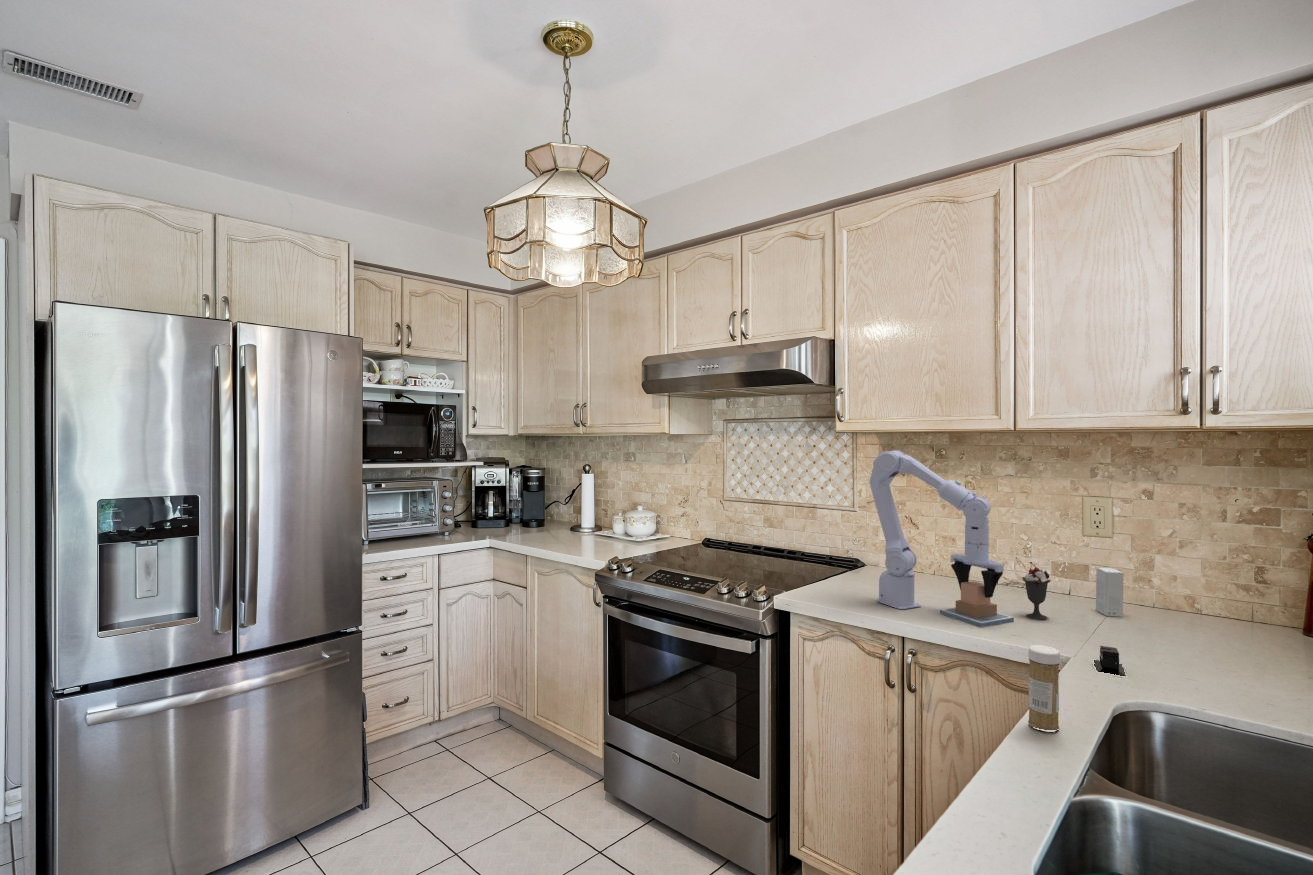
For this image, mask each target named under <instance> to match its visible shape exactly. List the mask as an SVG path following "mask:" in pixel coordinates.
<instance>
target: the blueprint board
mask: <svg viewBox="0 0 1313 875" xmlns="http://www.w3.org/2000/svg"><path fill="white" fill-rule="evenodd" d="M939 614H940V615H943V616H945V617H948V618H952V619H954V620H958V621H961V622H964V623H967V624H970V625H973V626H976V627H979V628H986V627H991V626H997V625H1002V624H1007V623H1008V624H1009V623H1013V622H1014V620H1015V618H1014V617H1012V616H1010V615H1006V614H1003V613H1000V612H998V604H996V603H993V602H990V604H987V605H981V606H975V605H972V604H968V603H965V602H962V601H961V599H957V600H955V607H949V608H942V609H939Z"/></svg>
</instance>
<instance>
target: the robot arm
mask: <svg viewBox="0 0 1313 875" xmlns="http://www.w3.org/2000/svg"><path fill="white" fill-rule="evenodd" d="M872 466H873V467H872V471H871V475H870V478H869V487H870V490H871V493H872V498H873V501H874V505H875V508H876V511H877V514H878V518H879V522H880V525H881V529H882V532H883V536H884V539H885V547H884V552H885V561H884V563H885V568H886V569H887V570H885V571H882V573H881V574H880V576H879V578H878V579H879V580H878V599H876V602H878V603H879V604H880V603H881V604H883V605H887V606H889V607H892V608H894V609H898V610H906V609H907V610H908V609H913V608H914V609H915V608H920V607H922V604H920V603H917V602H915V577H916V576H915V575H916V574H915V572H914V569H913V568H914V567H916V565H917V562H918V561H917V560H918V559H917V555H916V553H915V552H914V551H913V550H912V548H911V547H910V543H909V542H908V540H907V539H906V538H905V534H904V530H903V529H902V524H901V521H900V518H899V514H898V510H897V507H896V503H895V500H894V498H893V497H894V496H893V494H892V491H891V490H892V489H891V486H890V485H891V483H892V482H893V481H894V479H895V477H896V476H898V474H910V475H912V476H914V477H916V478H917V479H920V480H921V481H922V482H924V483H926V484H928V485H929V486H931V487H933V488H934V489H936V491H937V493H938V496H939V498H941V499H943V500H944V501H945V502H947V503H949V505H952V506H953V507H955V509H957V510H958V511H962V513H963V515H964V517H965V524H964V554H959V553H954V554H953V553H952V554H951V555H950V556H951V557H950V560H951V562H953V563H952V564H951V565H950V566H951V569H952V570H953V572H954V574H955V576H956V579H957V583H958V585H959V590H960V591H961V583H963V582H970V581H969V579H970V573H971V568H972V567H977V568H981V569H984V570H981V571H980V573H981V576H982V579H983V583H984V594H985V597H986V598H990V599H991V598H993V596H994V592H995V589H996V587H997V584H998V582H999V580H1000V579H1001V578H1002V576H1003V573H1004V571H1005V570H1004V564H1003V563H999V562H996V561H994V560H991V559H990V558H989V557H990V556H989V554H990V552H989V548H990V545H989V543H990V542H989V541H990V526H989V524H990V523H989V522H990V521H989V514H990V512H991V508H992V507H991V503H990V502H989V501H988V500H987V499H986V498H985V497H984V496H981V495H980V496H978V493H977V492H975V491H971V490H969V489H968V488H966V487H964V486H963V485H962V482H961V481H960V480H958V479H957V480H954V479H947V480H946V479H943V478H942V477H941V476H939V475H938V474H937V473H935V472H934V471H933V470H931V469H929V468H928V467H927V466H926V465H924V464H923V463H921V462H920V461H918V460H917V459H916V458H914V457H913V456H911V455H908V454H906V453H904V452H903V451H901V450H898V449H894V450H885V451H882V452H880V453H879V454H878V455H877V457H876V458H875V459H874V460H873V462H872Z"/></svg>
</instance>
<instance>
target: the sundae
mask: <svg viewBox="0 0 1313 875" xmlns="http://www.w3.org/2000/svg"><path fill="white" fill-rule="evenodd" d="M1029 564H1030V565H1031V566H1033V568H1032V567H1029V568H1030V569H1028V573H1026V575H1025V576H1022V577H1021V579H1022V581H1024V583H1025V589H1026V590H1025V591H1026V594H1027V599H1028V600H1029V601H1030V602H1031V603H1032V604H1033V611H1032V613H1027V614H1026V615H1025V616H1026V617H1027V618H1029V619H1032V620H1037V621H1038V620H1039V621H1043V620H1047V619H1048V616H1046V615H1044V614H1042V613H1041V612H1040V605H1042V603H1044V601H1045V600H1046V597H1047V593H1048V592H1047V590H1048V585H1049V583H1050V582H1051V579H1049V578H1050V574H1049V573H1048V571H1046V570H1044V571H1043V570H1041V569H1040V568H1039V567H1036V566H1035V564H1033V562H1032V561H1030V562H1029Z"/></svg>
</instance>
